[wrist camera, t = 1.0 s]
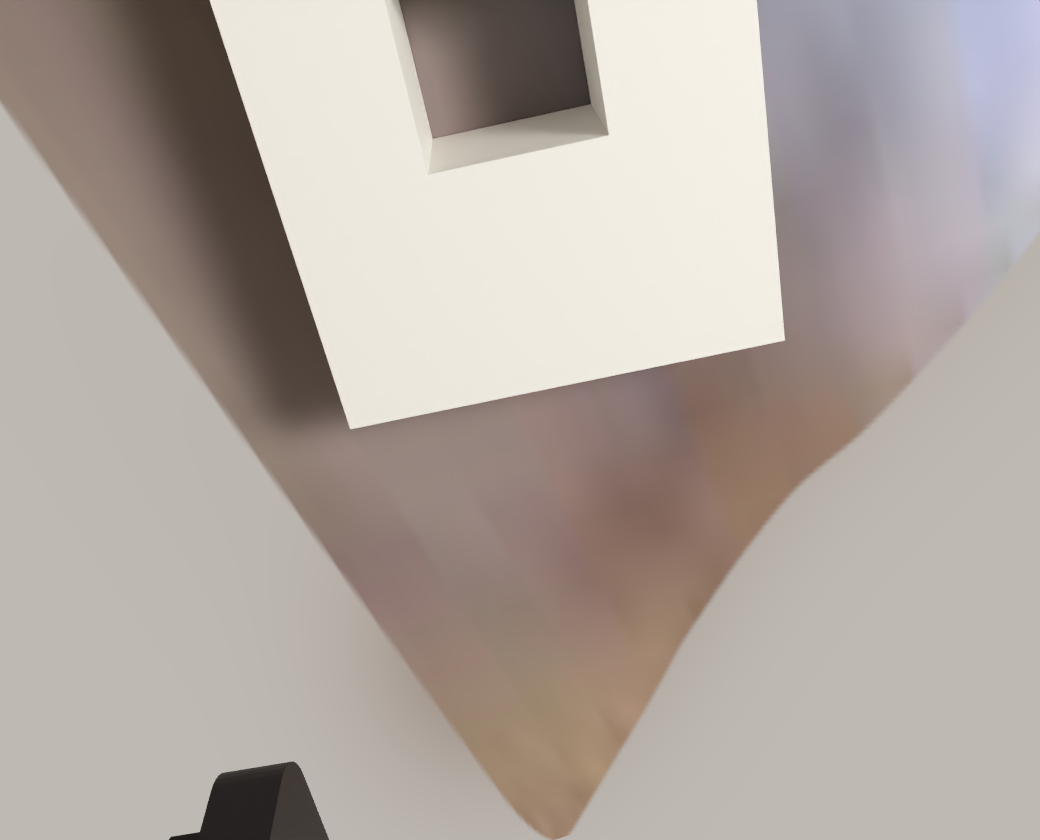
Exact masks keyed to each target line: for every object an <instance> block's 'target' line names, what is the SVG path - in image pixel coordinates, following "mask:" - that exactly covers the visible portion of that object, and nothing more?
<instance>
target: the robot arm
mask: <svg viewBox="0 0 1040 840" xmlns="http://www.w3.org/2000/svg"><path fill="white" fill-rule="evenodd" d="M169 840H329V838H328V836H327V833H326V831H325V828H324V826H323V824H322V821H321V818H320V816H319V813H318V811H317V808H316V806H315V803H314V800H313V798H312V796H311V793H310V790H309V788H308V785H307V783H306V780H305V778H304V775H303V773H302V771H301V769H300V767H299V766H298V765H297V764H296V763H295V762H287V763H281V764H275V765H269V766H263V767H257V768H251V769H244V770H238V771H232V772H227V773H222V774H220V775H219V776H218V777H217V779H216V781H215V782H214V784H213V787H212V790H211V794H210V797H209V801H208V805H207V809H206V812H205V816H204V819H203V823H202V827H201V831H200V832H199V833H193V834H186V835H180V836H174V837H171V838H170V839H169Z"/></svg>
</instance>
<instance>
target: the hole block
mask: <svg viewBox="0 0 1040 840" xmlns="http://www.w3.org/2000/svg"><path fill="white" fill-rule="evenodd" d="M210 3H211V6H212V9H213V12H214V15H215V18H216V21H217V24H218V27H219V30H220V33H221V36H222V40H223V43H224V46H225V49H226V52H227V55H228V58H229V61H230V64H231V67H232V70H233V73H234V76H235V79H236V82H237V85H238V88H239V91H240V94H241V97H242V101H243V104H244V107H245V110H246V113H247V116H248V119H249V122H250V125H251V128H252V131H253V134H254V137H255V140H256V143H257V146H258V149H259V152H260V155H261V158H262V162H263V165H264V168H265V171H266V174H267V177H268V180H269V183H270V186H271V189H272V192H273V195H274V198H275V201H276V204H277V207H278V210H279V213H280V216H281V219H282V223H283V226H284V229H285V232H286V235H287V238H288V241H289V244H290V247H291V250H292V253H293V256H294V259H295V262H296V265H297V268H298V271H299V274H300V277H301V280H302V284H303V287H304V290H305V293H306V296H307V299H308V302H309V305H310V308H311V311H312V314H313V317H314V320H315V323H316V326H317V329H318V332H319V335H320V338H321V341H322V345H323V348H324V351H325V354H326V357H327V360H328V363H329V366H330V369H331V372H332V375H333V378H334V381H335V384H336V387H337V390H338V393H339V396H340V399H341V402H342V405H343V409H344V412H345V415H346V418H347V421H348V424H349V427H350V429H354V428H359V427H364V426H369V425H374V424H379V423H384V422H388V421H393V420H398V419H403V418H408V417H413V416H418V415H423V414H428V413H433V412H437V411H442V410H447V409H452V408H457V407H462V406H467V405H472V404H477V403H481V402H486V401H491V400H496V399H501V398H506V397H511V396H516V395H521V394H525V393H530V392H535V391H540V390H545V389H550V388H555V387H560V386H565V385H570V384H574V383H579V382H584V381H589V380H594V379H599V378H604V377H609V376H614V375H618V374H623V373H628V372H633V371H638V370H643V369H648V368H653V367H658V366H662V365H667V364H672V363H677V362H682V361H687V360H692V359H697V358H702V357H707V356H711V355H716V354H721V353H726V352H731V351H736V350H741V349H746V348H751V347H755V346H760V345H765V344H770V343H775V342H780V341H785V337H784V325H783V313H782V301H781V289H780V277H779V264H778V252H777V240H776V228H775V216H774V204H773V192H772V180H771V168H770V156H769V144H768V132H767V120H766V108H765V96H764V84H763V71H762V59H761V47H760V35H759V23H758V11H757V0H574V3H575V9H576V16H577V22H578V28H579V34H580V40H581V46H582V52H583V58H584V64H585V70H586V76H587V82H588V88H589V94H590V101H591V104H590V105H585V106H580V107H576V108H571V109H567V110H562V111H558V112H553V113H548V114H544V115H539V116H535V117H530V118H526V119H521V120H517V121H512V122H507V123H503V124H498V125H494V126H489V127H485V128H480V129H475V130H471V131H466V132H462V133H457V134H453V135H448V136H444V137H439V138H434V139H432V135H431V130H430V126H429V122H428V118H427V114H426V110H425V106H424V102H423V98H422V93H421V89H420V85H419V81H418V77H417V73H416V69H415V65H414V61H413V56H412V52H411V48H410V44H409V40H408V36H407V32H406V28H405V24H404V19H403V15H402V11H401V7H400V3H399V0H210Z"/></svg>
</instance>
